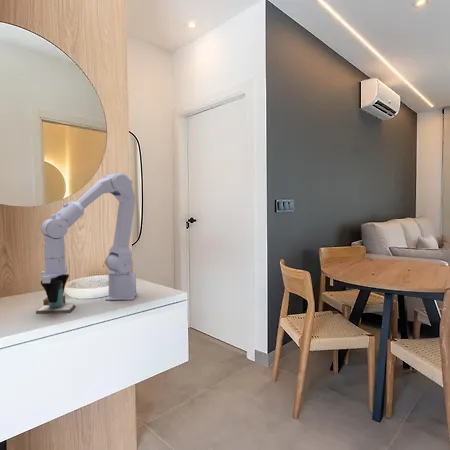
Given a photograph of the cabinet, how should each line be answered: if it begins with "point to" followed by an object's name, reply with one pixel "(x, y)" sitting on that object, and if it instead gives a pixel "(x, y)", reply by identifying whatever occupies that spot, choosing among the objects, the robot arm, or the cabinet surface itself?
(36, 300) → the cabinet surface
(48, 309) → the drawing pad
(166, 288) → the cabinet surface
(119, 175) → the robot arm
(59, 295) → the cylinder
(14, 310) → the cabinet surface
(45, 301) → the button collar
